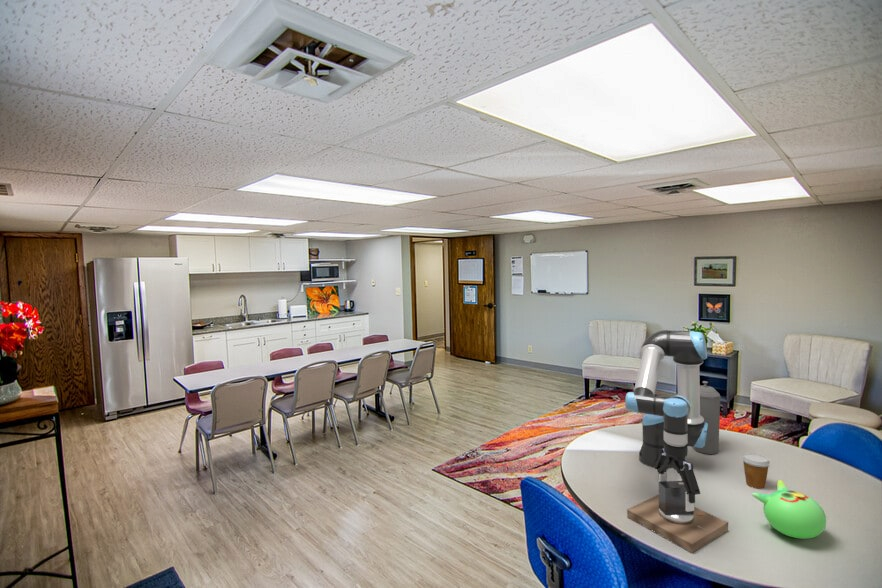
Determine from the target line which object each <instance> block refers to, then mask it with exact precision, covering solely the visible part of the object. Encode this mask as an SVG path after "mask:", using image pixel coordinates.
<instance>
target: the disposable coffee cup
mask: <svg viewBox="0 0 882 588" xmlns="http://www.w3.org/2000/svg"><path fill="white" fill-rule="evenodd" d="M741 460H742V461H743V469H744V475H745V483H746V485H747V486H748V487H750V488H752V487H753V489H756V490H757V489H758V490H764V489H766V484H767V477H768V473H769V472H768V471H769V467H770V465H771V462H770V460H769V458H768V457H767V456H765V455H762V454H760V453H759V454H758V453H751V452H746V453H743V455H742V457H741Z"/></svg>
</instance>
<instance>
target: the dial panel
mask: <svg viewBox="0 0 882 588" xmlns="http://www.w3.org/2000/svg"><path fill="white" fill-rule="evenodd" d="M626 516H627V518H628V519H630V520H631V519H632V521H634V522H635V521H636V522H635V523H636V524H638V525H640V524H641V525H640V526H642V525H644V526H645V527H644V526H643V527H644V528H646V527H647V528H646V529H648V528H649V529H651V530H653V531H655V532H656V533H655V532H654V533H655V534H657V533H658V534H660V535H662V536H663V537H662V536H661V537H662V538H664V537H665V538H664V539H666V538H667V539H668V540H667V539H666V540H667V541H669V540H670V541H669V542H671V541H672V542H671V543H673V544H674V545H676V544H677V546H678V545H679V546H678V547H680V548H682V549H684V550H685V549H686V551H687V550H688V553H691V554H693V553H694V551H695V552H696V551H698V550H699V549H701V548H703V547H704V546H706V545H707V544H709V543H711V542H712V541H714V540H716V539H717V538H718V537H720V536H722V535H724V534H725V533H726V532H728V531H729V522H728V521H726V520H723V519H721V518H719V517H717V516H715V515H713V514H711V513H708V512H706V511H704V510H703V509H700V508H697V507H696V506H694V520H693V522H692V523H689V524H677V523H673V522H670V521H668V520H666V519H664V518H663V517H662V516H661V515H660V514H659V494H657V495H655V496H652V497H651V498H648V499H646V500H644V501H642V502H639V503H638V504H636V505H633V506H631V507H629V508H628V509H626ZM649 529H648V530H649ZM651 530H650V531H651ZM653 531H652V532H653ZM658 534H657V535H658ZM660 535H659V536H660Z"/></svg>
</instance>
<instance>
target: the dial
mask: <svg viewBox="0 0 882 588" xmlns="http://www.w3.org/2000/svg"><path fill="white" fill-rule="evenodd" d="M686 492H687V490H686V488H685V485H684V483H683V481H682V480H667V481H661V482H659V481H658V495H659V514H660V515H661V516H662V517H663V518H664V519H666V520H668V521H670V522H673V523H677V524H689V523H692V522H693V520H694V511H689V512H687V511H686Z"/></svg>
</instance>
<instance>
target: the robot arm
mask: <svg viewBox="0 0 882 588" xmlns="http://www.w3.org/2000/svg"><path fill="white" fill-rule="evenodd" d="M707 347H708V346H707V343H706V338H705V335H704V333H702V332H701V331H693V330H667V329H662V330H659V331H656V332H654V333H652V334H651V335H650V336H648V337H647V338H645V340H644V342H643V343H642V346H641V349H640V355H641V359H640V363H639V367H638V372H637V375H636V376H637V377H636V380H635V385H634V388H633V391H629V392H627V393H626V394H625V402H624V404H625V405H624V406H625V409H626V410H627V411H629V412H632V413H637V414H638V413H639V414H643V416H642V423H641V426H642V445H641V447H640V450H639V453H638V460H639V461H640V463H642V464H643V465H646V466H649V467H651V468H654V470H656V471H657V474H658V483H659V482H661V481H668V474H667V471H669V469H670V468H673V470H675V471H676V472H677V474H678V475H679V476H680V479H681V481H683V483H684V485H685V488H686V490H687V492H686V511H687V512H689V511H694V507H695V503H696V495H701V491H700V487H699V484H698V482H697V478H696V474H695V471H694V464H693V463H692V462H687V461H686V457H687V456H688V453H689V450H688V448H689V447H691V448H693V447H697V448H703V447H704V446H705V441H706V435H707V428H708V423H706V422H704V418H703V417H702V416H701V415H700V386H701V384H700V381H701V380H700V379H701V378H700V376H701V375H700V366H701V365H702V364H703V363H704V360H706V359H708V349H707ZM665 357H672V359H673V360H672V361H673V363H675V364H676V369H677V370H676V371H677V372H676V374H677V375H676V376H677V395H673V396H665V395H664V396H662V395H657V394H655V393H656V388H657V382H658V378H659V372H660V368H661V363H662V360H663V359H664V358H665Z"/></svg>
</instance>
